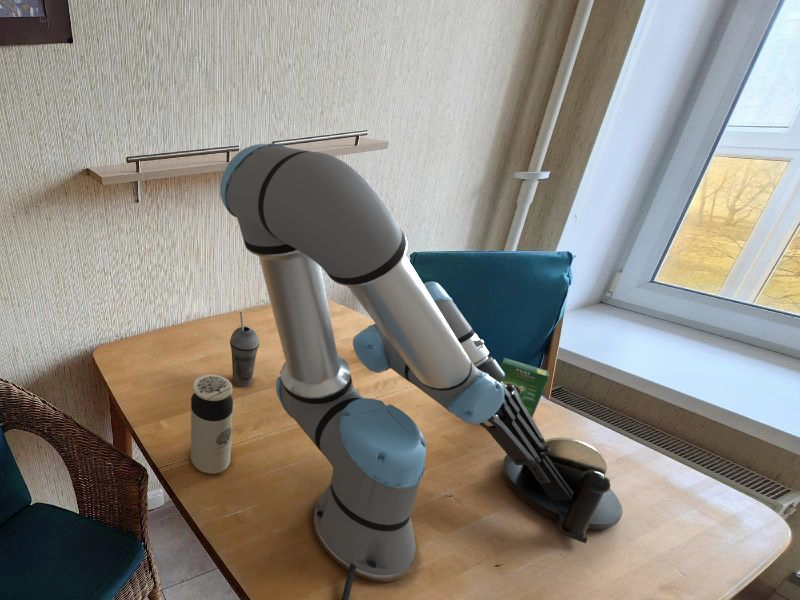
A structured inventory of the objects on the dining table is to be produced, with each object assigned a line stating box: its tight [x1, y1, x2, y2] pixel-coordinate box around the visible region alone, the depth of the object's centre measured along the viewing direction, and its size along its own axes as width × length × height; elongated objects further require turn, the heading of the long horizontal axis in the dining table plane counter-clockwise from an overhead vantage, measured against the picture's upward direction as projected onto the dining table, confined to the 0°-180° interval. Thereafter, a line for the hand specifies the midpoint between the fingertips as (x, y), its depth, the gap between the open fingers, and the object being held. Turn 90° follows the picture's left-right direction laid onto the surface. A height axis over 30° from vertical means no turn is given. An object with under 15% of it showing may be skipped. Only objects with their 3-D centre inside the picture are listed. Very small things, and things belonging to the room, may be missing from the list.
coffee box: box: [500, 357, 550, 419], centre depth 94 cm, size 8×3×13 cm, turn 49°
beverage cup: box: [229, 311, 260, 388], centre depth 106 cm, size 7×7×20 cm
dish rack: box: [501, 437, 623, 544], centre depth 73 cm, size 20×16×13 cm
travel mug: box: [190, 373, 234, 475], centre depth 83 cm, size 8×8×18 cm
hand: (562, 496), depth 69 cm, fingers closed, pressing on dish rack
